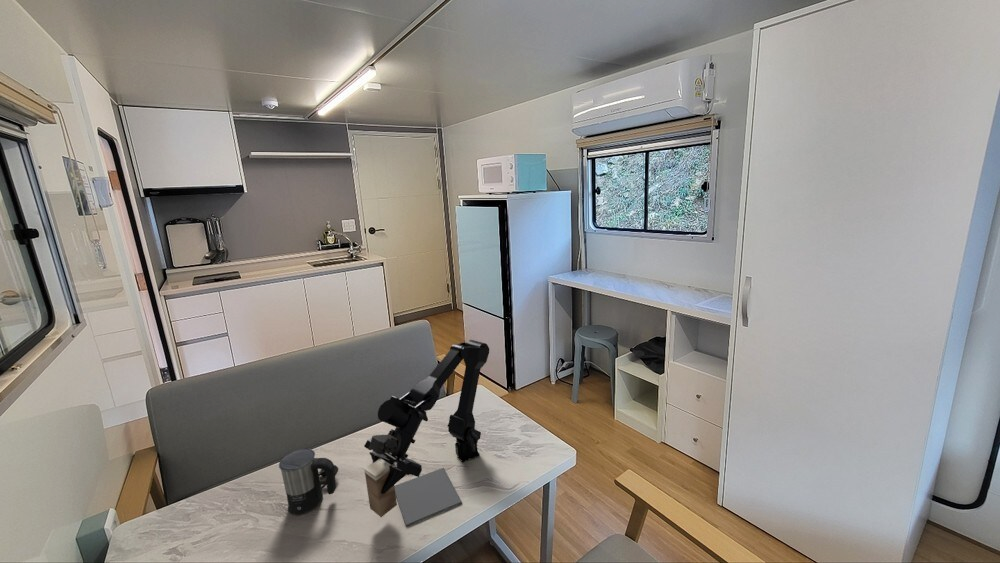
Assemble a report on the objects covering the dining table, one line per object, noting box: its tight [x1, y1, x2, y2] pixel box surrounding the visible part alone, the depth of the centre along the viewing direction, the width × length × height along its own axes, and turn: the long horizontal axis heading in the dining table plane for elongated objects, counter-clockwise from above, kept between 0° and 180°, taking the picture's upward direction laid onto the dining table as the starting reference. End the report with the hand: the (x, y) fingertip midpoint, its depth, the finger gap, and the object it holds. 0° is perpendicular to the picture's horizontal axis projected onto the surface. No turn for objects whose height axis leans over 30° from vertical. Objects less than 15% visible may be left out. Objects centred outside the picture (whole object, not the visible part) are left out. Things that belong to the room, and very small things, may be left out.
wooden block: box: [363, 458, 398, 518], centre depth 101 cm, size 5×5×12 cm
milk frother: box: [278, 448, 339, 516], centre depth 113 cm, size 14×16×15 cm
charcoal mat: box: [394, 467, 463, 527], centre depth 112 cm, size 16×16×1 cm
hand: (376, 489), depth 100 cm, fingers closed on wooden block, 5 cm apart
